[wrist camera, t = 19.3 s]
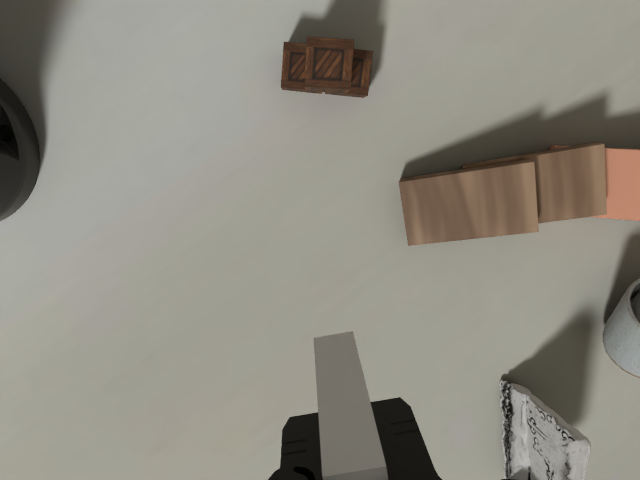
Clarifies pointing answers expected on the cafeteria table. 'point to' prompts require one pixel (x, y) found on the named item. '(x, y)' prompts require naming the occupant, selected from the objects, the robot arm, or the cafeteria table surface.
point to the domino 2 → (566, 181)
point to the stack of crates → (326, 67)
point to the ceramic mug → (625, 331)
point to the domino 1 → (470, 203)
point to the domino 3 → (621, 183)
